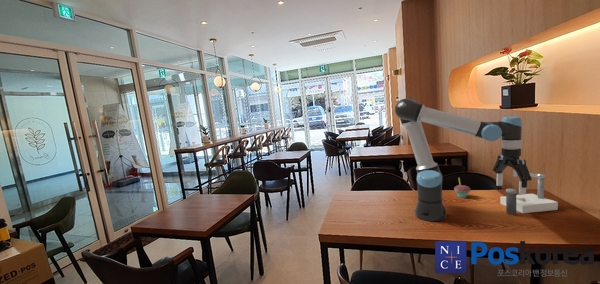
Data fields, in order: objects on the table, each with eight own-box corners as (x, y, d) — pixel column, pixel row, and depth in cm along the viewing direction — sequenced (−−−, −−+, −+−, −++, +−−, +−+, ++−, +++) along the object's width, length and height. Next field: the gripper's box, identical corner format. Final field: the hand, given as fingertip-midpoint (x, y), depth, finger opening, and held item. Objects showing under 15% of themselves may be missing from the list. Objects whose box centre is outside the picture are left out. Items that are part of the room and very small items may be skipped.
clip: (512, 176, 146) (512, 170, 146) (516, 175, 147) (516, 169, 147) (542, 182, 132) (542, 175, 132) (546, 181, 133) (546, 174, 133)
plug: (510, 215, 127) (510, 191, 126) (503, 212, 132) (503, 189, 130) (518, 214, 128) (518, 190, 126) (511, 211, 132) (511, 188, 130)
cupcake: (451, 196, 160) (450, 177, 159) (459, 193, 164) (459, 175, 163) (465, 199, 153) (464, 180, 151) (473, 196, 156) (473, 177, 155)
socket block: (522, 213, 129) (522, 185, 127) (500, 203, 143) (500, 177, 141) (557, 209, 129) (558, 181, 127) (531, 200, 143) (532, 174, 141)
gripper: (543, 151, 113) (541, 196, 116) (498, 144, 138) (498, 181, 141) (526, 152, 113) (525, 198, 116) (484, 145, 138) (484, 183, 141)
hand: (510, 189), depth 128 cm, fingers open, 13 cm apart
